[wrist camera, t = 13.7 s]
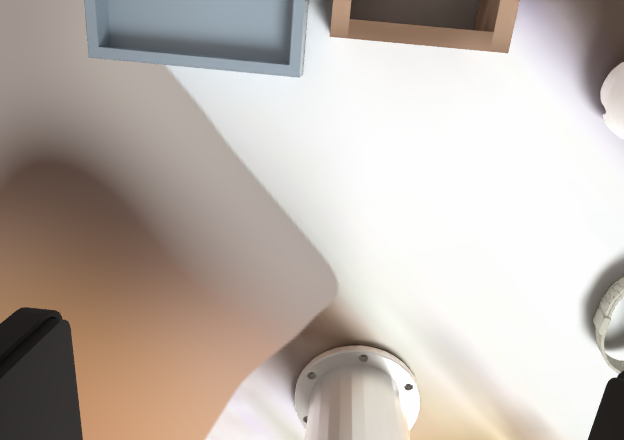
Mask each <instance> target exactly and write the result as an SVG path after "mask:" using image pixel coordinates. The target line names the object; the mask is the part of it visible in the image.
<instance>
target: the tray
mask: <svg viewBox="0 0 624 440" xmlns="http://www.w3.org/2000/svg"><path fill="white" fill-rule="evenodd" d="M84 1H85V14H86V26H87V27H86V28H87V41H88V54H89V57H91V58H101V59H112V60H123V61H133V62H143V63H153V64H164V65H174V66H185V67H195V68H205V69H216V70H226V71H237V72H247V73H258V74H268V75H279V76H289V77H300V76H302V75H303V66H304V53H305V40H306V26H307V13H308V0H84Z"/></svg>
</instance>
